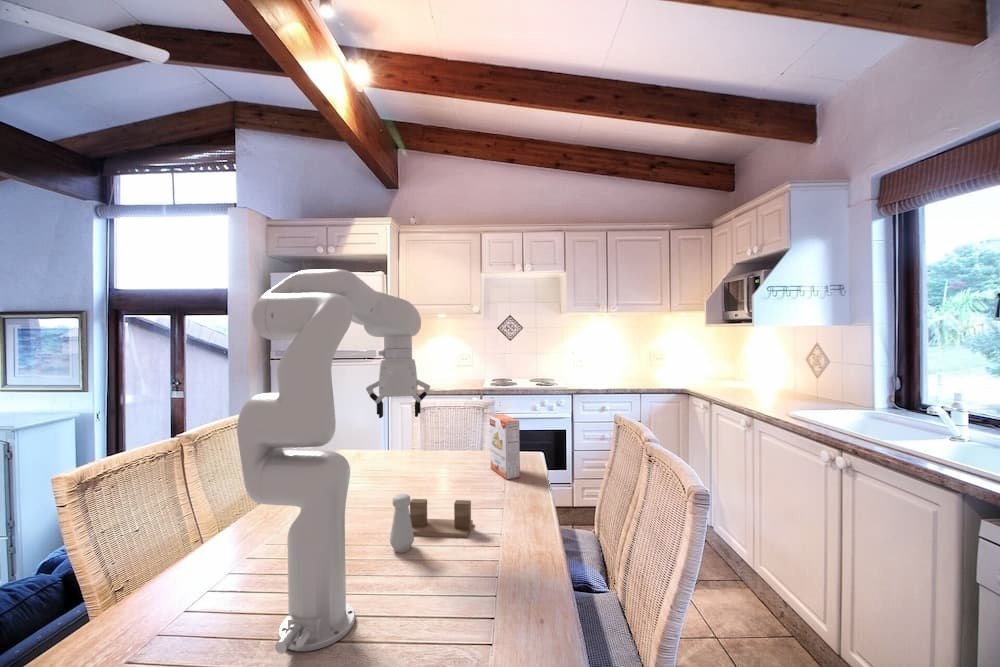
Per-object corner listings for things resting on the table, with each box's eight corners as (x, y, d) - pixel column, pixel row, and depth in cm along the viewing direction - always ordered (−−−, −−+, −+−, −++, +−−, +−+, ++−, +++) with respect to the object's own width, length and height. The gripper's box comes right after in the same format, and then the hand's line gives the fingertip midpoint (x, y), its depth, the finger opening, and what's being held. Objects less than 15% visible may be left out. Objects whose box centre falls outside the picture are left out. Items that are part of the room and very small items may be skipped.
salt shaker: (408, 555, 104) (407, 501, 104) (385, 553, 105) (385, 499, 105) (417, 544, 110) (417, 492, 110) (396, 542, 111) (395, 490, 111)
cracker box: (489, 469, 168) (489, 414, 168) (503, 467, 171) (503, 413, 171) (505, 480, 155) (504, 421, 155) (520, 478, 158) (520, 419, 158)
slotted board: (467, 537, 113) (467, 508, 113) (406, 535, 114) (406, 506, 114) (472, 523, 121) (472, 496, 121) (415, 521, 122) (415, 494, 122)
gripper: (363, 356, 117) (364, 420, 117) (429, 355, 119) (430, 418, 119) (368, 354, 124) (369, 415, 124) (430, 353, 126) (431, 413, 126)
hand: (398, 416), depth 122 cm, fingers open, 9 cm apart
